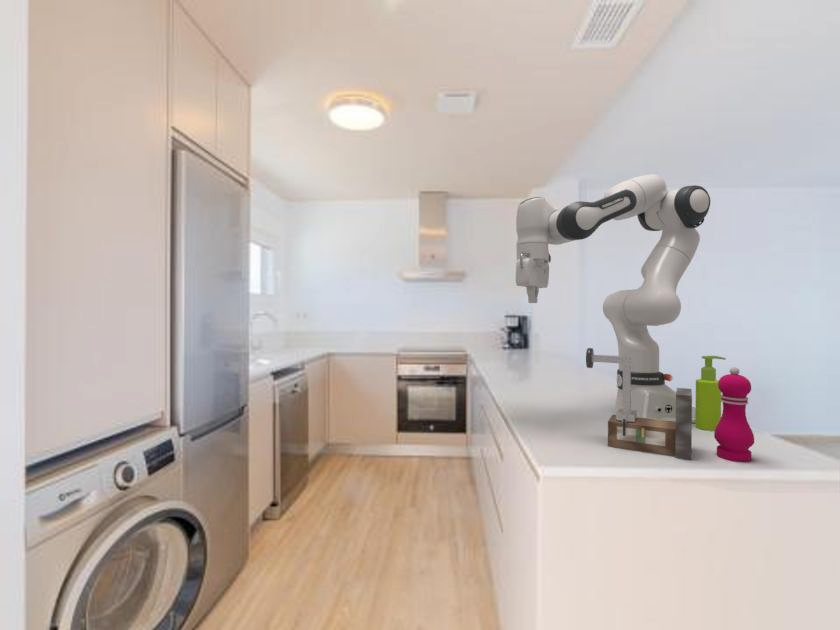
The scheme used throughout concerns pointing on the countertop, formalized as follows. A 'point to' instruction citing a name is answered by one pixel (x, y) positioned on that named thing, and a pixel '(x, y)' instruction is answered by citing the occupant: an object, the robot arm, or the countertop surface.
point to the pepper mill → (734, 418)
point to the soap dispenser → (708, 397)
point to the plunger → (625, 412)
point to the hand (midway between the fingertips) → (532, 303)
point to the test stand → (657, 431)
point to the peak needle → (642, 432)
